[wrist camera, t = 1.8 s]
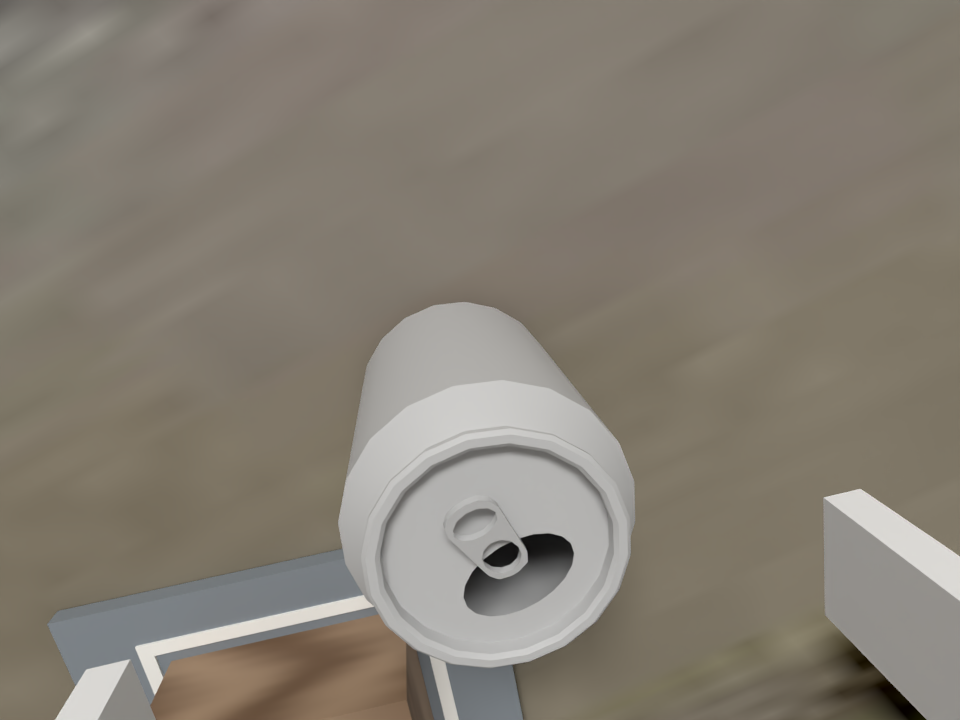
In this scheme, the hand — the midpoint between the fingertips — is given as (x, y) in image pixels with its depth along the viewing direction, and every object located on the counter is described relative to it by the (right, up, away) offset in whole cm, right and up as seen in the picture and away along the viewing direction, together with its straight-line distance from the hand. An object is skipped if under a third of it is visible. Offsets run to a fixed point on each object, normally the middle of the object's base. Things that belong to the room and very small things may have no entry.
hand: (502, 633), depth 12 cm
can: (-1, +4, +14) cm, 15 cm away
